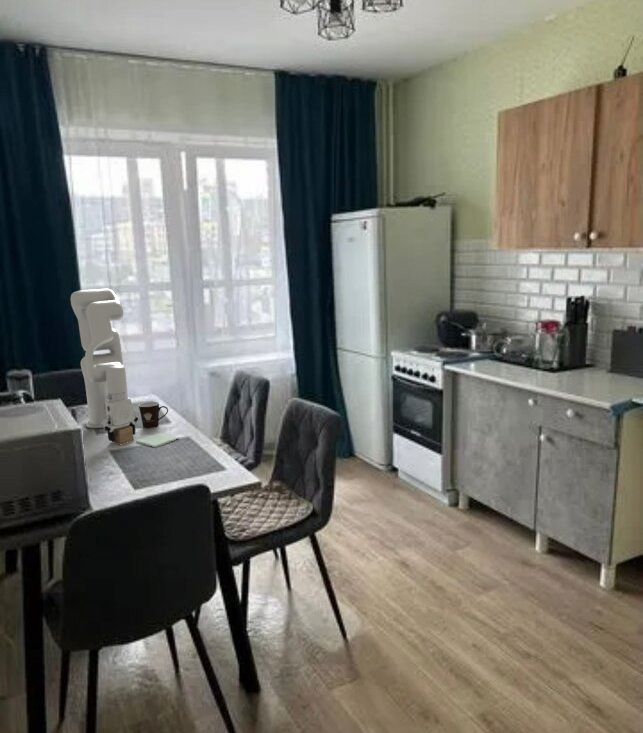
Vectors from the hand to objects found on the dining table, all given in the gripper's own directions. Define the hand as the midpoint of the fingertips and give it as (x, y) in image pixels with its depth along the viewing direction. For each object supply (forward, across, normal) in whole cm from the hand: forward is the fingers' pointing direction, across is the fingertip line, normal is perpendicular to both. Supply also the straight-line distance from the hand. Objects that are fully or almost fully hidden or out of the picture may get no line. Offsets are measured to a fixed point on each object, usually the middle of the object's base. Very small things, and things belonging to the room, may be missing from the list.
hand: (122, 437), depth 239 cm
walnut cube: (+2, 0, 0) cm, 2 cm away
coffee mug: (+2, +20, +6) cm, 21 cm away
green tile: (+2, +8, -12) cm, 15 cm away
